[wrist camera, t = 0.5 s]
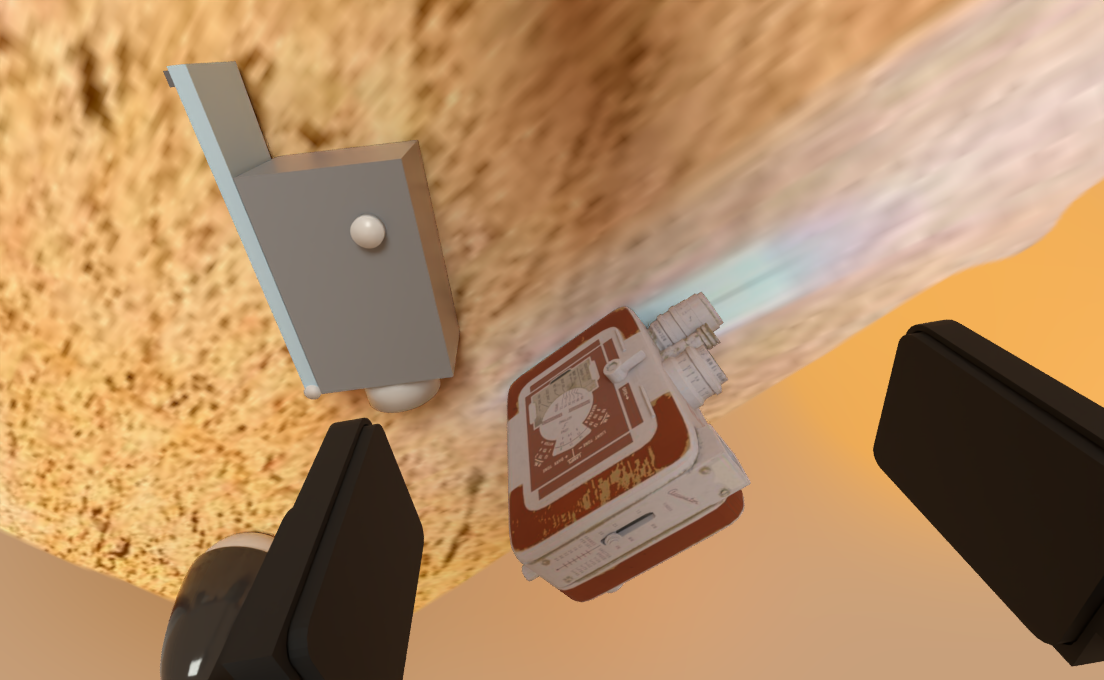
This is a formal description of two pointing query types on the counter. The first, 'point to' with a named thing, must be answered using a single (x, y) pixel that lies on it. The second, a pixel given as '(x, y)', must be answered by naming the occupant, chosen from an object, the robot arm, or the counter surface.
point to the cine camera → (619, 451)
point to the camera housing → (359, 268)
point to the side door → (236, 171)
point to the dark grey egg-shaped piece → (210, 605)
